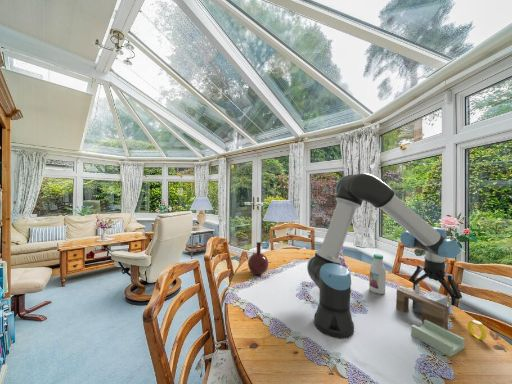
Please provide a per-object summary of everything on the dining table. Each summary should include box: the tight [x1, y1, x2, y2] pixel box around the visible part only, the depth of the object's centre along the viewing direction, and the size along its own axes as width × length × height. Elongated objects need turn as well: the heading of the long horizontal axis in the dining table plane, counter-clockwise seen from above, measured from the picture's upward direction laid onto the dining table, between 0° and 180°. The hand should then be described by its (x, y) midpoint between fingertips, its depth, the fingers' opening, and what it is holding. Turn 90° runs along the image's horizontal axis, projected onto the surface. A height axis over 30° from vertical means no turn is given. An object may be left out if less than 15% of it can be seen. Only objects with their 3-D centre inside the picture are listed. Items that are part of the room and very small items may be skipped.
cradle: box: [410, 320, 466, 358], centre depth 79 cm, size 12×10×4 cm
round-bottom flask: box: [247, 241, 269, 275], centre depth 137 cm, size 13×13×20 cm
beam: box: [395, 287, 449, 330], centre depth 93 cm, size 4×18×9 cm, turn 26°
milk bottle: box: [368, 253, 387, 295], centre depth 117 cm, size 8×8×20 cm
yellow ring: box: [467, 319, 487, 341], centre depth 82 cm, size 6×3×6 cm, turn 175°
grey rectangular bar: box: [411, 290, 449, 316], centre depth 100 cm, size 18×6×6 cm, turn 117°
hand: (432, 304), depth 102 cm, fingers open, 13 cm apart
